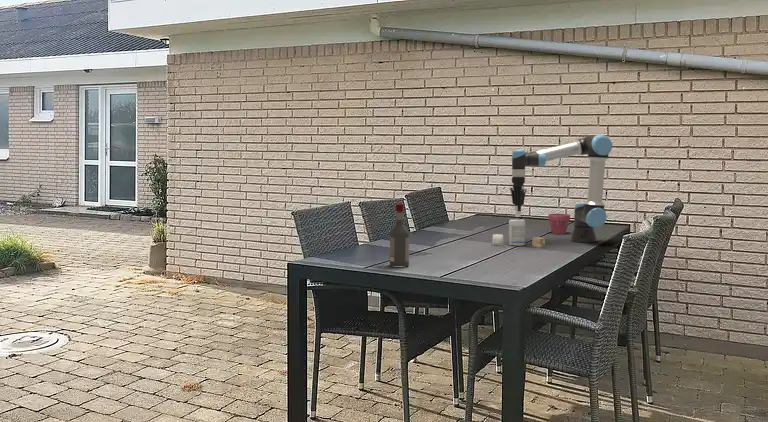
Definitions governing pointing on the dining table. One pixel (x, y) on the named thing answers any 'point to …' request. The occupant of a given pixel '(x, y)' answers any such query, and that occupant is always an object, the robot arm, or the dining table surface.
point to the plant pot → (559, 223)
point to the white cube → (498, 239)
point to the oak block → (538, 242)
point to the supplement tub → (517, 232)
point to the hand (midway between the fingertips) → (517, 216)
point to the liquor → (399, 241)
